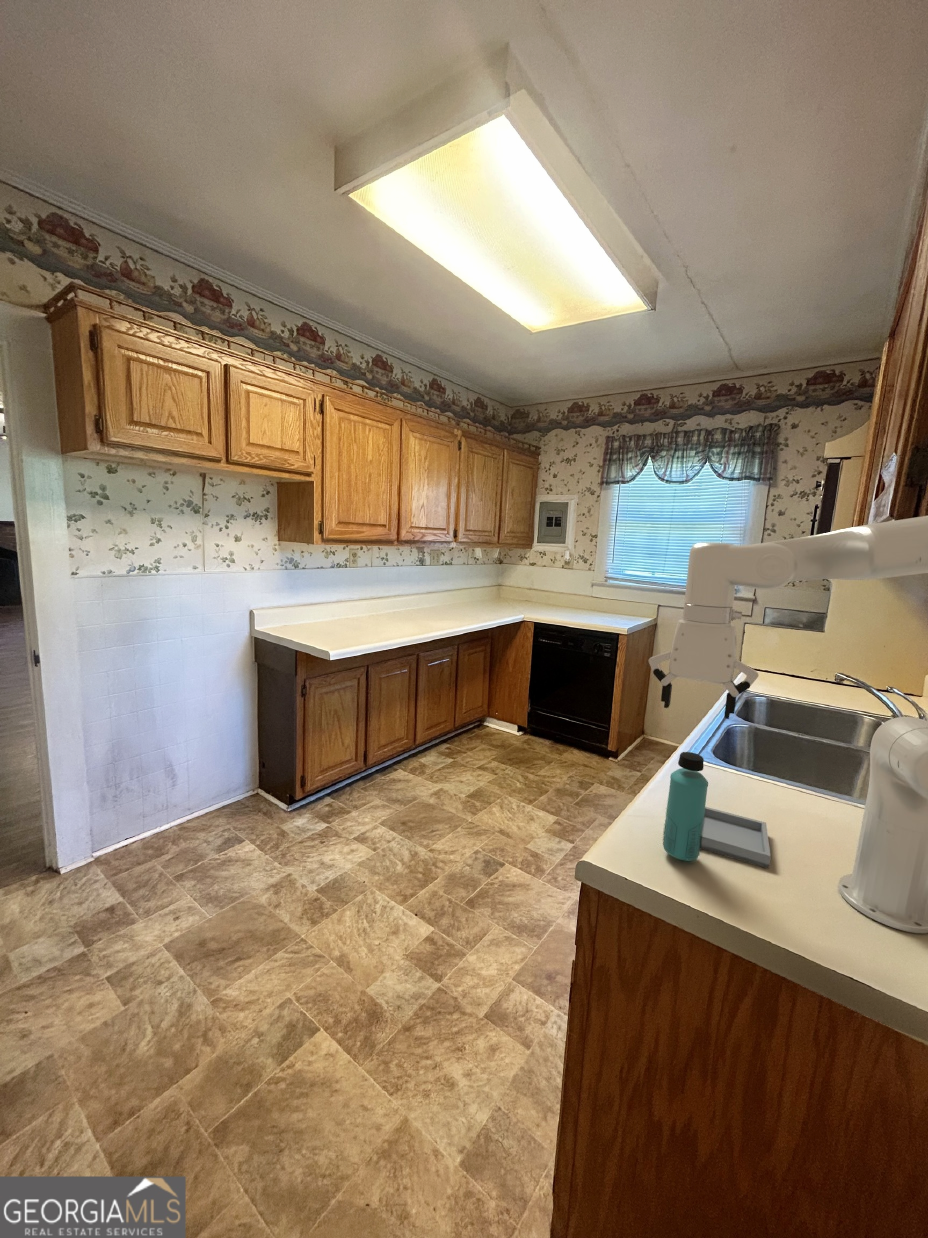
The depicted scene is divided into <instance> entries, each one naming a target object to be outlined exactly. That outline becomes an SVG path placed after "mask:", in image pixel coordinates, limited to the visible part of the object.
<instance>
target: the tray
mask: <svg viewBox="0 0 928 1238" xmlns="http://www.w3.org/2000/svg"><path fill="white" fill-rule="evenodd" d="M704 817H705V819H704V822H703V825H704V826H703V827H704V830H702V835H703V838H702V839H701V842H702V846H701V847H700V849H701V850H705V851H708V852H711V853H715V854H718V855H721V856H725V857H728V858H730V859H734V860H738V861H741V862H745V863H747V864H751V865H755V866H758V867H762V868H764V869H768V870H769V869H770V862H771V858H772V857H771V848H770V843H769V835H768V834H769V833H768V828H767V822H765V821H762V820H757V819H754V818H750V817H746V816H743V815H739V814H736V813H735V814H734V813H732V812H731V813H730V812H727V811H723V810H719V809H715V808H713V807H708V806H705V814H704Z"/></svg>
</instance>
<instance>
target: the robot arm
mask: <svg viewBox="0 0 928 1238" xmlns="http://www.w3.org/2000/svg"><path fill="white" fill-rule="evenodd" d="M688 556H689V557H688V563H687V565H688V566H687V576H686V586H685V592H684V594H685V595H684V603H683V612H682V613H683V614H682V619H678V621H677V624H676V626H675V631H674V635H673V638H672V644H671V650H669V651H666V652H662V653H660V654H657V655H654V656H651V657H650V658H649V659H648V663H649V666H650V668H651V670H652V674H653V675H654V677H655V678H656V679H657V680H658V681H659V682H660V684H661V686H662V687H661V695H660V697H661V698H660V701H661V702H663V703H664V705H663V708H665V709H669V707H670V705H671V702H672V701H671V699H672V690H673V688H672V687H673V684H672V681H674V680H675V679H676V678H680V679H684V680H685V679H686V680H691V681H698V682H699V681H700V682H706V683H711V684H720V685H723V686H724V688H725V689H726V690H727V691H728V692H727V693H726V700H725V706H724V707H725V708H724V719H727V720H729V719H730V714H733V715H734V714H735V709H736V701H737V697H739V696H740V694H741V695H742V693H744V692H745V691H747V690H748V689H750V687H751V686H752V685H753V684H754V682H755V681H756V680H757V679H758V678H759V672H758V671H757V670H755V669H754V668H752V667H751V666H749V665H747V664H746V663H744V662H742V661H740V660H739V659H737V658H736V657H737V628H736V625H734V624H732V622H733V621H736V620H742V616H743V614H742V613H743V612H742V611H739V610H735V608H733V607H734V601H735V595H736V594H735V592H736V586H737V587H738V586H739V587H745V588H750V589H754V590H755V589H756V590H759V591H772V590H773V591H774V590H777V589H780V588H782V587H784V586H786V585H787V584H788V583H791V582H792V583H793V582H794V583H795V582H801V581H802V582H803V581H814V580H842V581H865V580H867V581H869V580H878V579H886V578H887V579H888V578H896V577H904V576H912V575H921V574H928V515H923V516H917V517H911V518H903V519H898V520H889V521H884V522H877V523H869V524H864V525H862V524H861V525H859V526H852V527H847V528H843V529H842V528H841V529H837V530H834V531H830V532H826V533H825V532H824V533H819V534H814V535H809V536H803V537H795V538H789V539H787V538H786V539H782V540H774V541H766V542H761V543H759V542H758V543H753V544H737V545H736V544H733V543H728V542H726V543H725V542H697V543H695V544H694V545H692V546H691V548H690V550H689V555H688ZM664 661H665V662H666V661H669V665H668V667H669V668H668V671H669V672H668V673H667V674H665V672H664V671H663V670H662V669H661V668H660V663H662V662H664ZM735 669H736V670H738V671H740V672H741V673H742V674H744V675H745V676H746V677H744V679H743V680H742V681H740V682H738V683H737V684H736V683H735V682H734V680H733V678H734V676H735V675H734V674H735ZM870 742H871V743H870V748H869V752H870V753H869V758H870V759H869V780H868V781H869V783H868V789H867V793H866V794H867V796H866V801H865V805H864V810H863V815H862V821H861V826H860V831H859V836H858V841H857V847H856V848H857V849H856V853H855V858H854V863H853V869H852V873H850V874H844V875H842V876H841V877H840V879H839V880H838V884H837V889H838V892H839V893H840V895H841V896H842V897H843V899H844V900H845V901H846V902H847V903H848V904H849V905H850V906H852V907H853V908H854V909H856V910H857V911H859V912H860V913H861V914H864V916H866V917H868V918H870V919H872V920H874V921H876V922H878V923H881V924H882V925H885V926H887V927H891V928H894V929H896V930H900V931H903V932H908V933H914V934H928V720H926V719H922V718H918V717H913V716H898V717H895V718H890V719H889V720H886V721H885V722H883V723H882V724H881V725H879V727H878V728H877V729H876V730H875V732H874V734H873V735H872V739H871V741H870Z"/></svg>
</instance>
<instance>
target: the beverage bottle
mask: <svg viewBox="0 0 928 1238" xmlns="http://www.w3.org/2000/svg"><path fill="white" fill-rule="evenodd" d="M678 758H679V759H678V760H677V761H678V762H677V764H678V766H679V767H680V768H679V769H676V770H674V771H673V772H671V773H670V781H669V789H668V797H667V802H666V807H665V810H666V811H665V819H664V823H663V826H664V827H663V838H662V842H661V843H662V846H663V849H664V851H665V852H666V853H667V854H668V855H670V856H671V857H673V858H676V859H677V860H682V861H687V862H689V861H690V862H691V861H695V860H697V859H698V858H699V856H700V854H701V851H702V849H701V848H700V847H701V846H702V842H701V839H702V838H703V835H702V830H704V827H703V826H704V825H703V822H704V819H705V817H704V814H705V807H706V802H707V795H708V794H707V793H708V787H709V781H708V780H707V778H706V777H705V776H704V775H703V774H702V773H701V772H702V771H703V770H704V767H705V766H704V759H705V758H704V757H703V756H702V755H700V754H698V753H695V752H691V751H682V752H681V753H680V754H679V757H678Z"/></svg>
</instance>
